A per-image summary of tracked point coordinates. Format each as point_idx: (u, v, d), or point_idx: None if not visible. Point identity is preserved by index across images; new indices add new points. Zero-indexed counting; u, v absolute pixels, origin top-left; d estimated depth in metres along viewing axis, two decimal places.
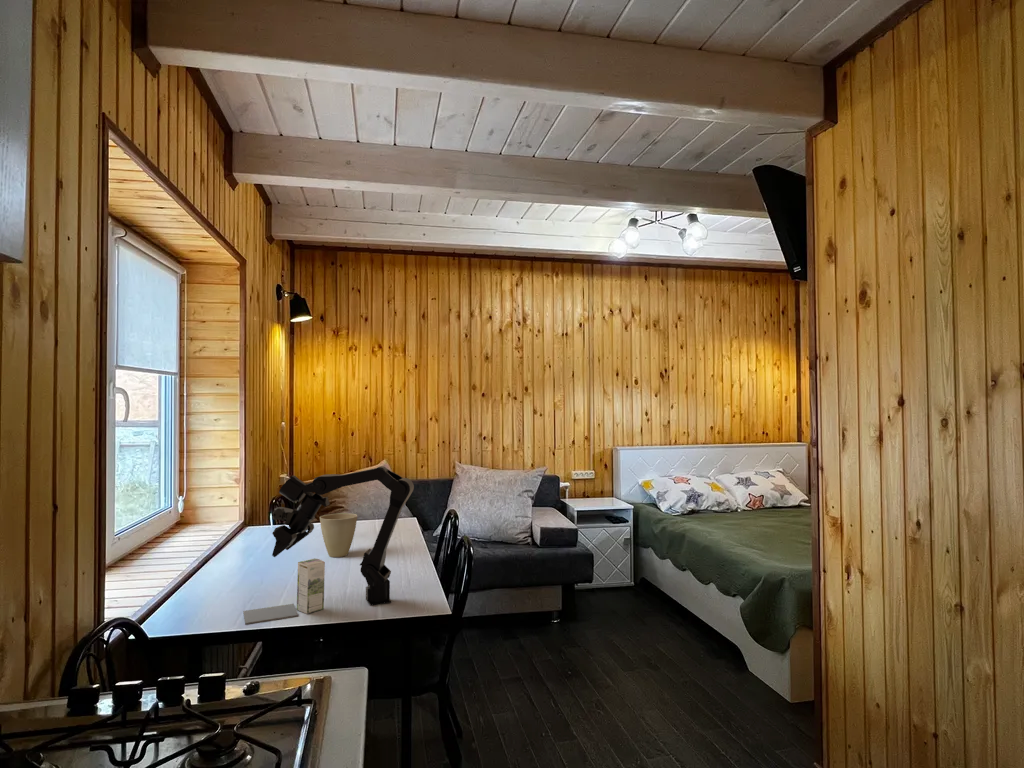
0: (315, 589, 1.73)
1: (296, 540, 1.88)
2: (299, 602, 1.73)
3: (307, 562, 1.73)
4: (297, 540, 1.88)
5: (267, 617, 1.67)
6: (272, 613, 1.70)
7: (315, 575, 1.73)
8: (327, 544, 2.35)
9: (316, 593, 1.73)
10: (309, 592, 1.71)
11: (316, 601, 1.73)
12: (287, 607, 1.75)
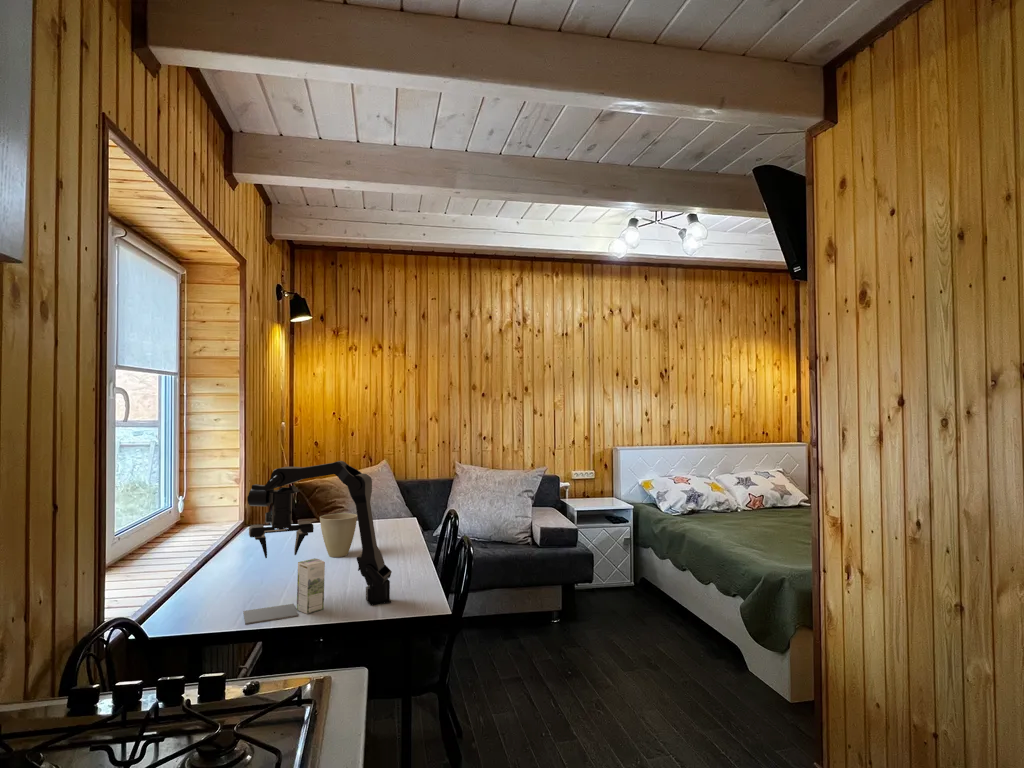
0: (315, 589, 1.73)
1: (296, 542, 1.86)
2: (299, 602, 1.73)
3: (307, 562, 1.73)
4: (296, 542, 1.86)
5: (267, 617, 1.67)
6: (272, 613, 1.70)
7: (315, 575, 1.73)
8: (327, 544, 2.35)
9: (316, 593, 1.73)
10: (309, 592, 1.71)
11: (316, 601, 1.73)
12: (287, 607, 1.75)
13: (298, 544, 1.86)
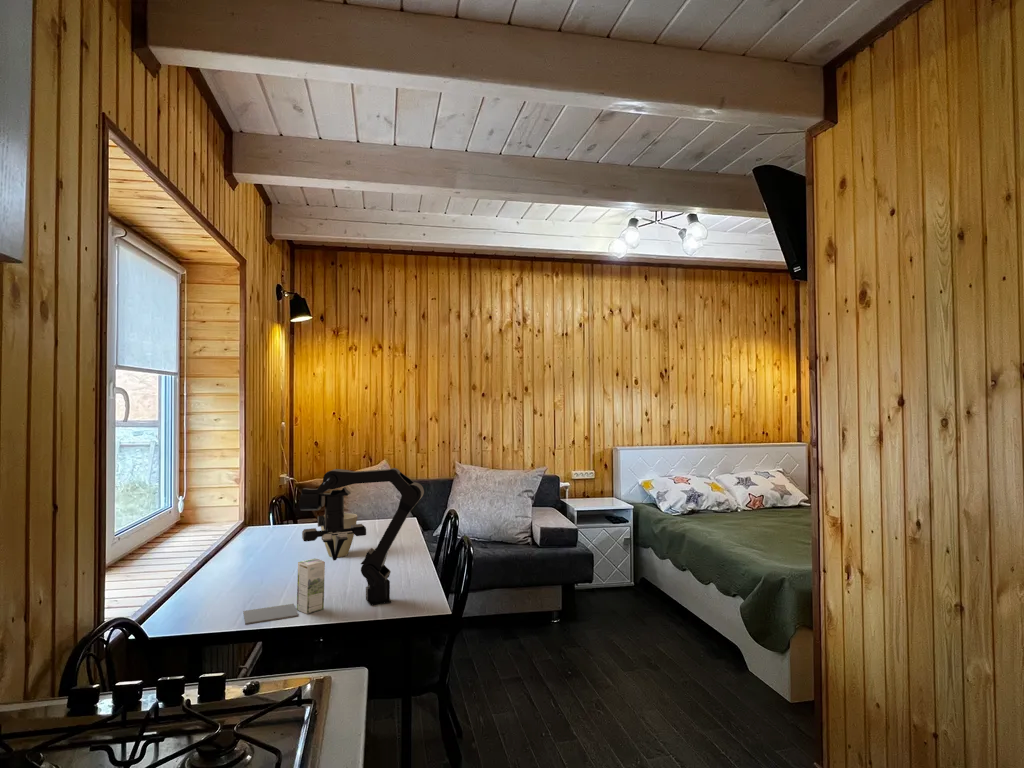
0: (315, 589, 1.73)
1: (336, 547, 1.81)
2: (299, 602, 1.73)
3: (307, 562, 1.73)
4: (336, 547, 1.81)
5: (267, 617, 1.67)
6: (272, 613, 1.70)
7: (315, 575, 1.73)
8: (327, 544, 2.35)
9: (316, 593, 1.73)
10: (309, 592, 1.71)
11: (316, 601, 1.73)
12: (287, 607, 1.75)
13: (338, 549, 1.81)
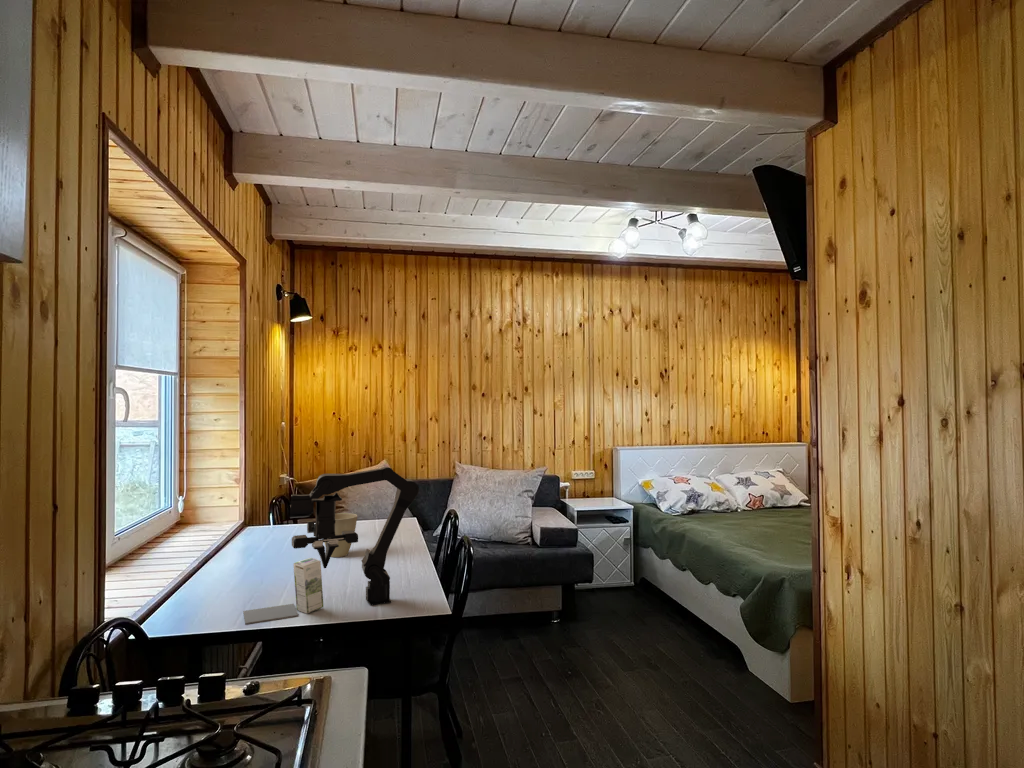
0: (313, 588, 1.72)
1: (326, 554, 1.76)
2: (299, 602, 1.73)
3: (303, 563, 1.72)
4: (327, 554, 1.75)
5: (267, 617, 1.67)
6: (272, 613, 1.70)
7: (312, 575, 1.72)
8: None
9: (314, 592, 1.73)
10: (307, 592, 1.71)
11: (315, 600, 1.73)
12: (287, 607, 1.75)
13: (328, 556, 1.75)
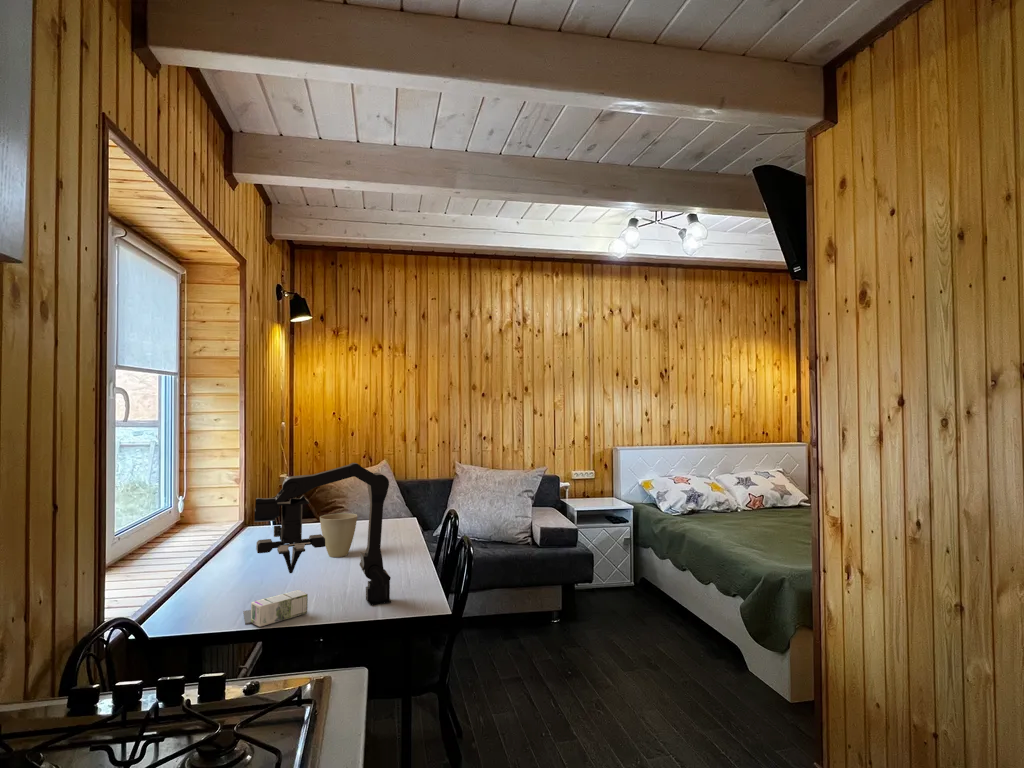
0: (286, 609, 1.65)
1: (292, 559, 1.71)
2: None
3: (255, 620, 1.61)
4: (293, 559, 1.71)
5: None
6: None
7: (272, 614, 1.62)
8: (327, 544, 2.35)
9: (290, 607, 1.66)
10: (287, 616, 1.66)
11: (298, 605, 1.68)
12: None
13: (294, 561, 1.71)
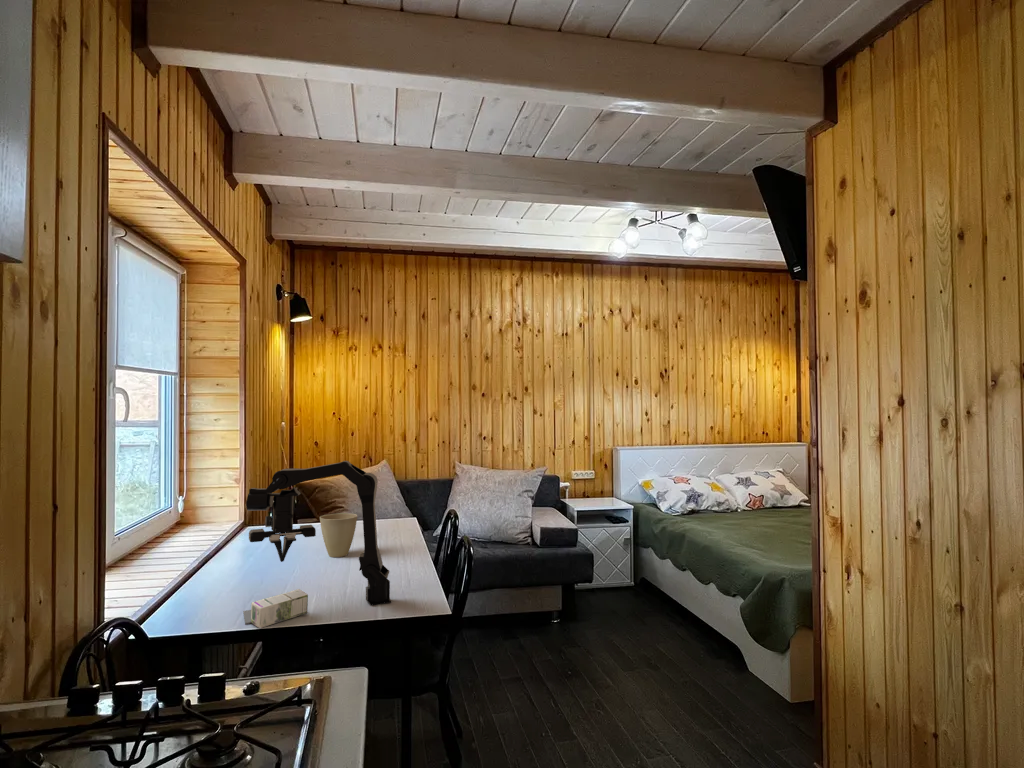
0: (286, 610, 1.65)
1: (284, 548, 1.78)
2: None
3: (255, 621, 1.61)
4: (284, 548, 1.78)
5: None
6: None
7: (272, 615, 1.62)
8: (327, 544, 2.35)
9: (290, 608, 1.66)
10: (287, 617, 1.66)
11: (298, 606, 1.68)
12: None
13: (286, 550, 1.78)
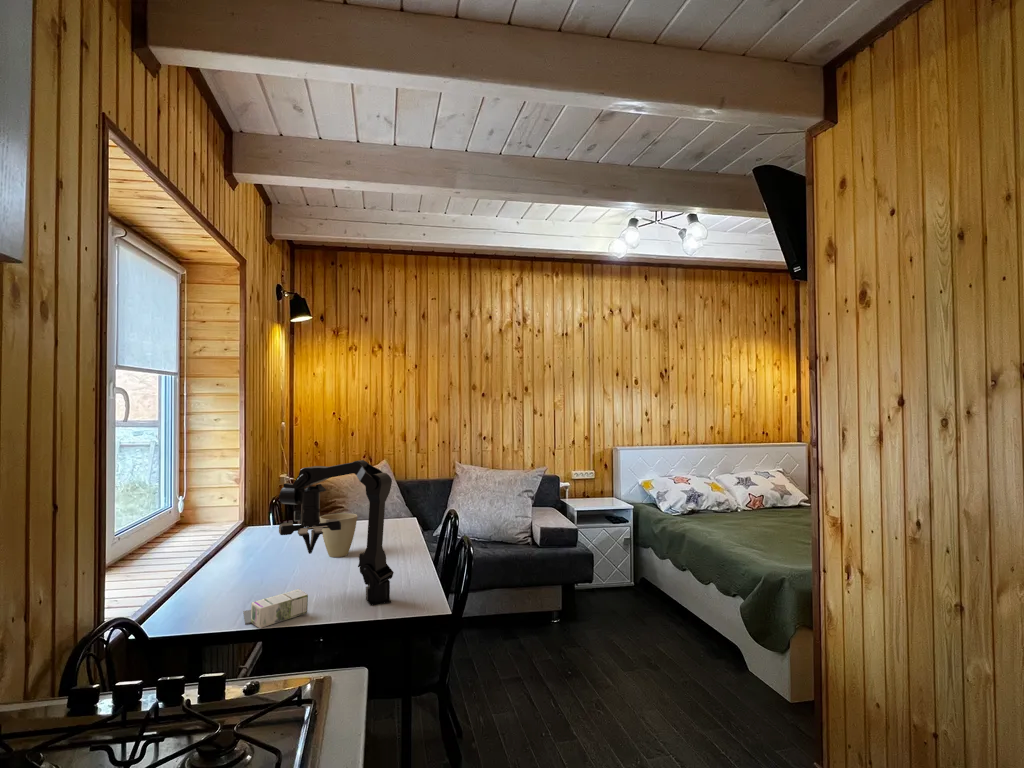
0: (286, 610, 1.65)
1: (311, 541, 1.89)
2: None
3: (255, 621, 1.61)
4: (312, 541, 1.89)
5: None
6: None
7: (272, 615, 1.62)
8: (327, 544, 2.35)
9: (290, 608, 1.66)
10: (287, 617, 1.66)
11: (298, 606, 1.68)
12: None
13: (313, 542, 1.89)
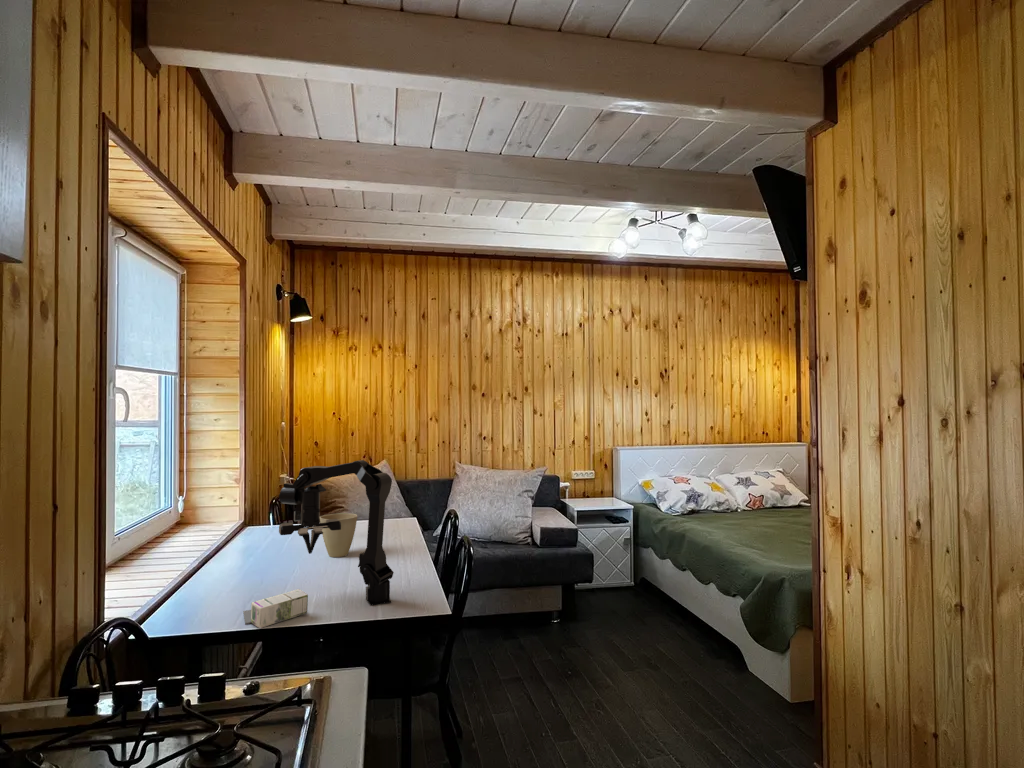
0: (286, 610, 1.65)
1: (311, 541, 1.89)
2: None
3: (255, 621, 1.61)
4: (312, 541, 1.89)
5: None
6: None
7: (272, 615, 1.62)
8: (327, 544, 2.35)
9: (290, 608, 1.66)
10: (287, 617, 1.66)
11: (298, 606, 1.68)
12: None
13: (313, 542, 1.89)
